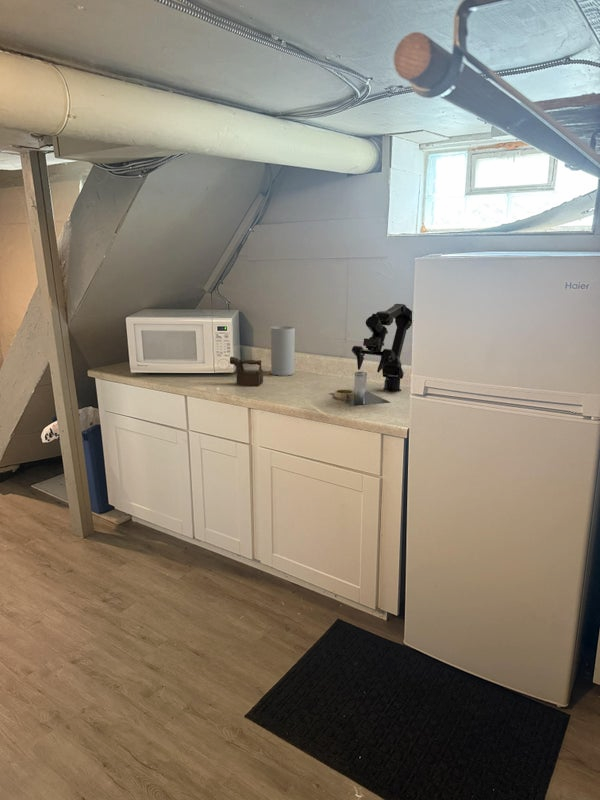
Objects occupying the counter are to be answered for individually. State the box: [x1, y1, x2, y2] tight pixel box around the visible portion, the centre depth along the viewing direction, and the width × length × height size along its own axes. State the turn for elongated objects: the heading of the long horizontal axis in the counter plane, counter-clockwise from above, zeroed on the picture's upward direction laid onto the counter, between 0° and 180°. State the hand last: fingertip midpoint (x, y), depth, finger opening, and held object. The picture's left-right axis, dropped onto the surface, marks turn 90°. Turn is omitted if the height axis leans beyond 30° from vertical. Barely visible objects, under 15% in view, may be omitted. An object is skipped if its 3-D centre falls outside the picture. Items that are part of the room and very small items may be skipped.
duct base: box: [328, 389, 392, 407], centre depth 245 cm, size 19×24×3 cm
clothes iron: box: [229, 356, 264, 387], centre depth 273 cm, size 8×16×13 cm, turn 77°
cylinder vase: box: [270, 325, 296, 377], centre depth 296 cm, size 12×12×25 cm
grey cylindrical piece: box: [353, 371, 368, 404], centre depth 235 cm, size 5×5×13 cm
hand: (368, 370), depth 238 cm, fingers open, 9 cm apart
